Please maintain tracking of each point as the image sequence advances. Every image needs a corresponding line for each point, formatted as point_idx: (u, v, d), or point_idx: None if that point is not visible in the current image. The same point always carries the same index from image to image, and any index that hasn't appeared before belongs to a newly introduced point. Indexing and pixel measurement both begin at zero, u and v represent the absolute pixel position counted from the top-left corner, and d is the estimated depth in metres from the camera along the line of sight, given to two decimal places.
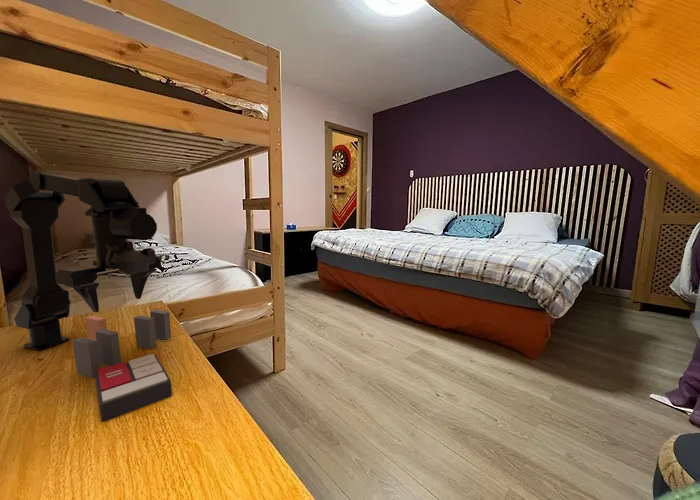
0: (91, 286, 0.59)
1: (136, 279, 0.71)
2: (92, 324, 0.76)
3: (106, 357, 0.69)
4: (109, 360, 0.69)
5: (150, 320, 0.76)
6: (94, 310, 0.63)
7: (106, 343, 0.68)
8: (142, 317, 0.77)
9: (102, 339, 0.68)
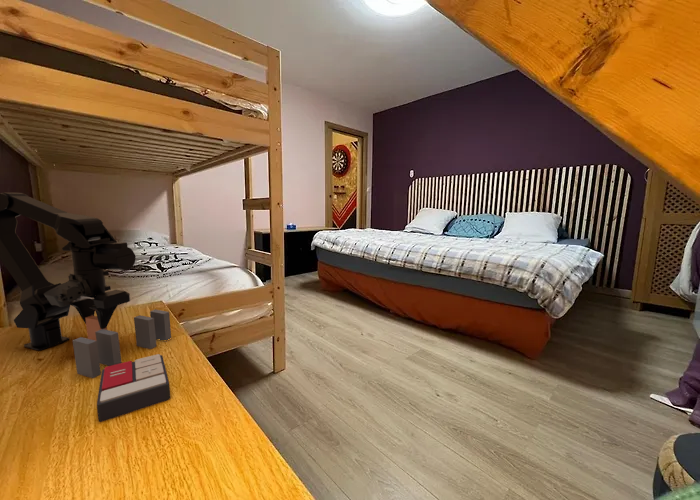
0: (68, 303, 0.74)
1: None
2: (92, 324, 0.76)
3: (106, 357, 0.69)
4: (109, 360, 0.69)
5: (150, 320, 0.76)
6: None
7: (106, 344, 0.68)
8: (142, 317, 0.77)
9: (102, 339, 0.68)
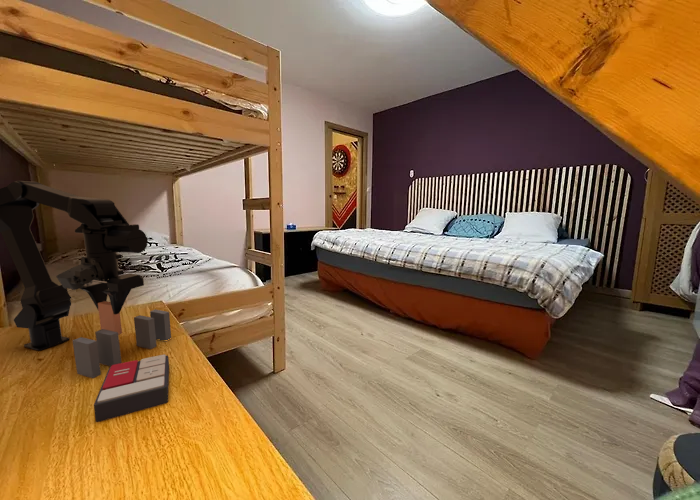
0: (80, 288, 0.72)
1: None
2: (105, 309, 0.73)
3: (106, 357, 0.69)
4: (109, 360, 0.69)
5: (150, 320, 0.76)
6: None
7: (106, 344, 0.68)
8: (142, 317, 0.77)
9: (102, 339, 0.68)
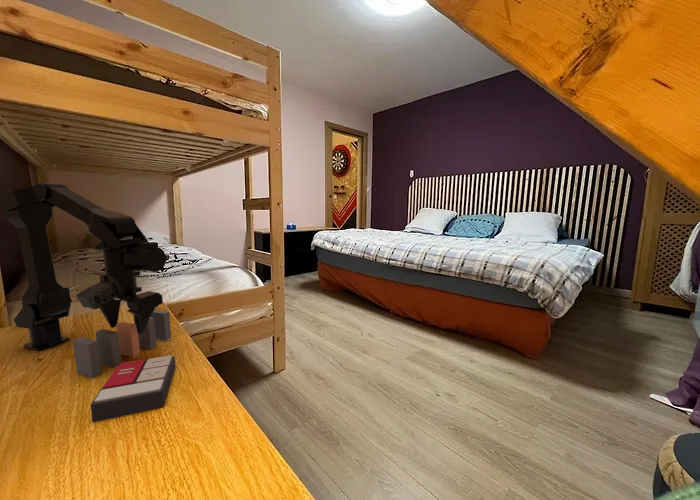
0: None
1: None
2: (123, 331, 0.72)
3: (106, 357, 0.69)
4: (109, 360, 0.69)
5: (150, 320, 0.76)
6: None
7: (106, 343, 0.68)
8: None
9: (102, 339, 0.68)
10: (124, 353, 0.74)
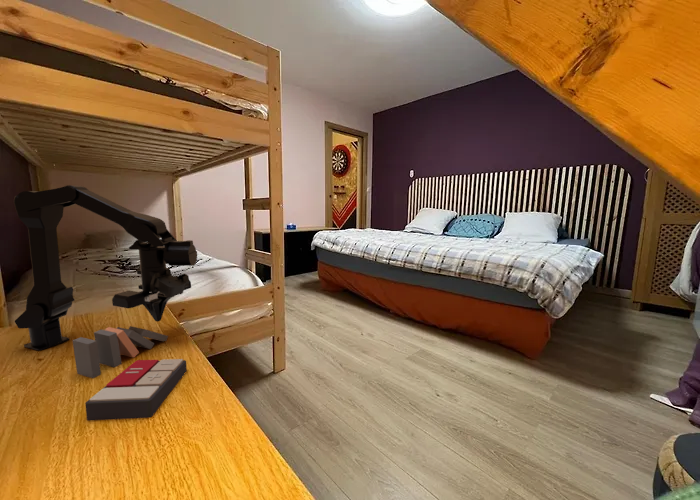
0: (156, 301, 0.77)
1: None
2: None
3: (106, 357, 0.69)
4: (109, 360, 0.69)
5: (130, 334, 0.72)
6: (156, 320, 0.81)
7: (105, 344, 0.68)
8: None
9: (101, 340, 0.68)
10: (123, 354, 0.73)
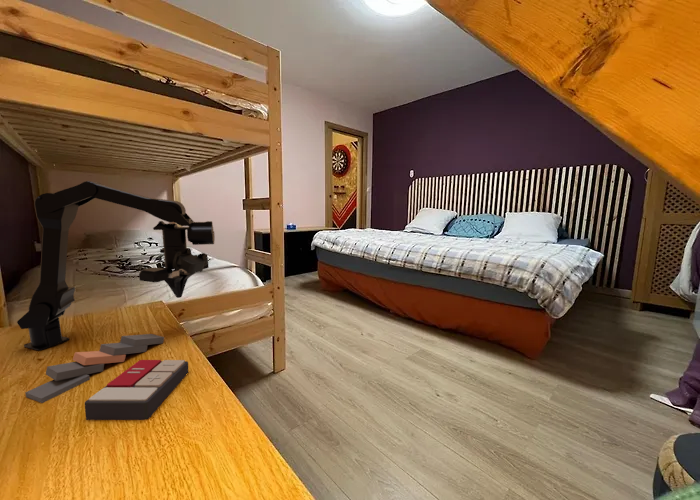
0: (178, 278, 0.83)
1: None
2: None
3: None
4: None
5: (115, 352, 0.69)
6: (177, 296, 0.86)
7: None
8: (105, 349, 0.70)
9: None
10: None
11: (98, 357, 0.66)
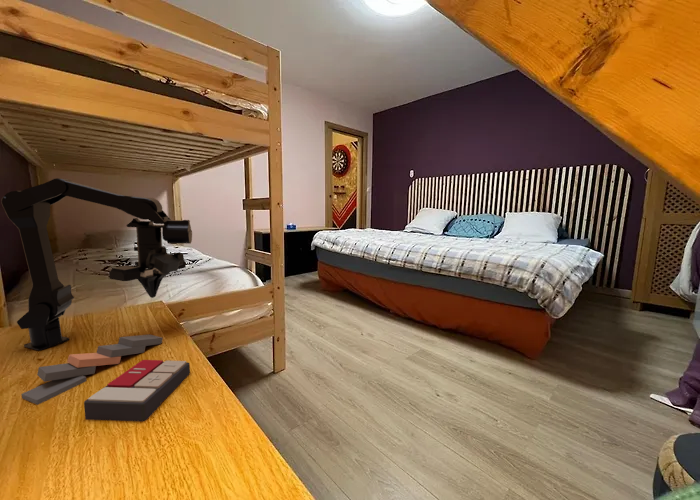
0: (152, 277, 0.81)
1: None
2: None
3: None
4: None
5: (112, 354, 0.68)
6: (151, 296, 0.84)
7: None
8: (102, 351, 0.69)
9: None
10: None
11: (92, 359, 0.65)
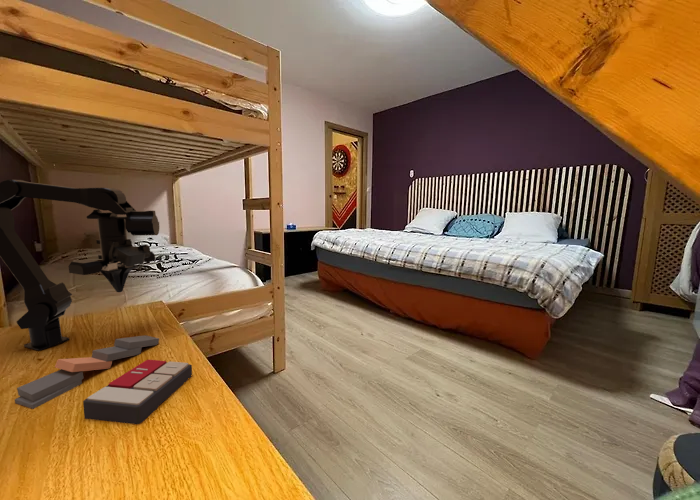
0: (116, 271, 0.77)
1: (118, 274, 0.81)
2: None
3: None
4: None
5: (108, 358, 0.67)
6: (117, 290, 0.81)
7: None
8: (98, 355, 0.68)
9: None
10: None
11: (86, 363, 0.63)
